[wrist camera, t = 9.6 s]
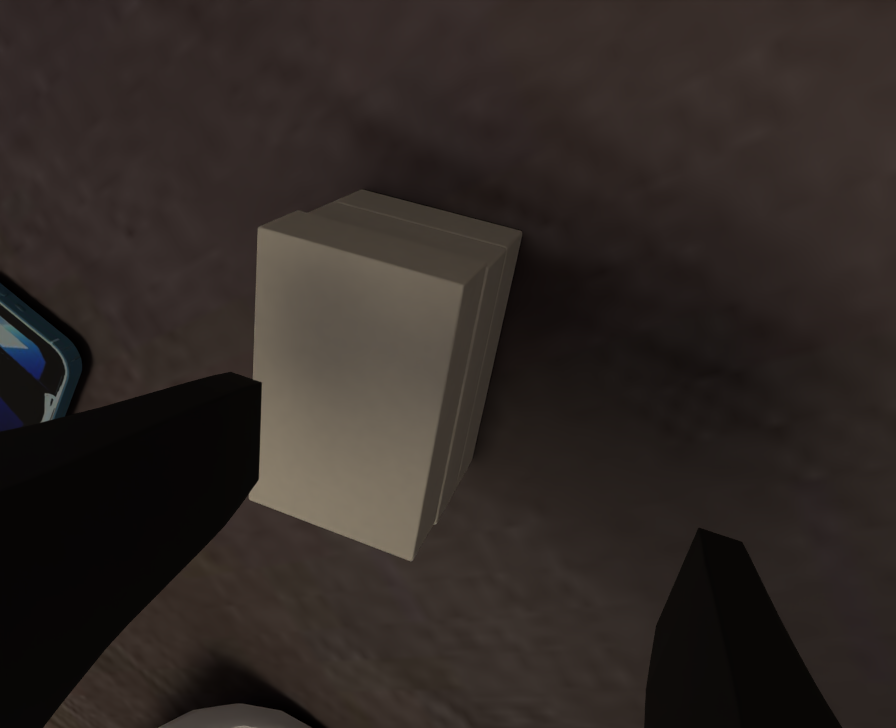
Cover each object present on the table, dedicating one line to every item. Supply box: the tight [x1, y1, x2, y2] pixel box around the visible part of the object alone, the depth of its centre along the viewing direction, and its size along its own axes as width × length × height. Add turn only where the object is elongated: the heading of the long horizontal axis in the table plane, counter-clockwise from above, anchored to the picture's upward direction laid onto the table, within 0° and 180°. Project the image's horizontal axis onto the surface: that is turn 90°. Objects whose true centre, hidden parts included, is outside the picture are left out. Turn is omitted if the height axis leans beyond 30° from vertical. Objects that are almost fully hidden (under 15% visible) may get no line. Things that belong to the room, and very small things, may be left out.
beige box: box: [249, 210, 487, 561], centre depth 18 cm, size 8×5×2 cm, turn 170°
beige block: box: [308, 189, 522, 525], centre depth 20 cm, size 8×5×4 cm, turn 170°
